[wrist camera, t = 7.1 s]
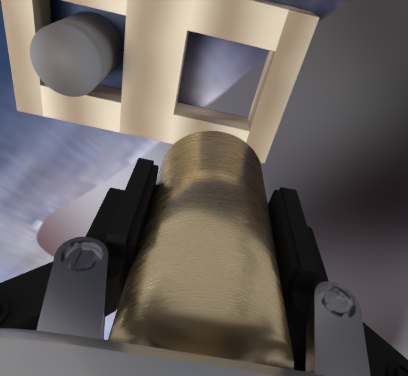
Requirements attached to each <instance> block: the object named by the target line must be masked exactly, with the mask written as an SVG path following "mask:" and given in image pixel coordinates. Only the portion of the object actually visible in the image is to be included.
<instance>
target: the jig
mask: <svg viewBox="0 0 408 376" xmlns="http://www.w3.org/2000/svg"><path fill="white" fill-rule="evenodd" d="M63 1H67V2H71V3H75V4H80V5H84V6H88V7H92V8H96V9H100V10H105V11H109V12H113V13H117V14H121V15H125V16H126V25H125V43H124V61H123V78H122V90H121V89H116V88H112V87H107V86H103V85H98V84H99V83H100V82H101V81H102V80H103V79H104V78H105V77H106V76H107V75H108V74H109V73H110V72H111V71H112V70H113V69H114V68H115V67H116V65H117V64H118V62H119V60H120V57H121V51H122V49H121V41H120V38H119V35H118V33H117V31H116V30H115V28H114V27H113V25H112V24H111V23H110V22H109V21H108V20H107V19H105V18H104V17H102V16H101V15H99V14H96V13H93V12H79V13H76V14H74V15H71V16H69V17H66V18H64V19H62V20H59V21H57V22H54V23H52V24H51V10H50V0H1V3H2V10H3V17H4V24H5V30H6V37H7V44H8V51H9V58H10V65H11V71H12V78H13V85H14V92H15V99H16V105H17V111H21V112H26V113H31V114H35V115H40V116H45V117H49V118H54V119H59V120H64V121H68V122H73V123H78V124H82V125H87V126H92V127H96V128H101V129H106V130H110V131H115V132H120V133H124V134H129V135H134V136H139V137H143V138H148V139H153V140H157V141H162V142H167V143H171V144H175V143H176V142H177V141H178V140H180V139H181V138H183V137H185V136H187V135H190V134H193V133H196V132H201V131H220V132H225V133H228V134H231V135H234V136H236V137H238V138H240V139H242V140H243V141H244V142H246V143H247V144H248V145H249V146H250V147H251V148H252V149H253V150H254V152H255V153H256V154H257V156H258V158H259V160H260V163H265V161H266V158H267V155H268V153H269V150H270V147H271V144H272V142H273V139H274V137H275V134H276V132H277V129H278V126H279V123H280V121H281V118H282V116H283V113H284V110H285V108H286V105H287V102H288V100H289V97H290V95H291V92H292V89H293V87H294V84H295V81H296V79H297V76H298V73H299V71H300V68H301V66H302V63H303V60H304V58H305V55H306V52H307V50H308V47H309V44H310V42H311V39H312V36H313V34H314V31H315V28H316V26H317V23H318V21H319V18H320V17H318V16H317V15H315V14H314V13H313V12H311V11H307V10H303V9H299V8H295V7H291V6H287V5H283V4H279V3H275V2H271V1H267V0H63ZM189 31H192V32H196V33H201V34H205V35H209V36H213V37H217V38H221V39H226V40H230V41H234V42H238V43H242V44H247V45H251V46H255V47H259V48H263V49H267V50H269V53H268V56H267V59H266V62H265V65H264V69H263V72H262V75H261V78H260V81H259V85H258V88H257V91H256V94H255V97H254V101H253V104H252V108H251V110H250V114H249V117H248V118H246V117H242V116H237V115H233V114H228V113H224V112H219V111H215V110H210V109H206V108H201V107H197V106H192V105H188V104H183V103H179V102H178V97H179V91H180V85H181V79H182V73H183V67H184V61H185V55H186V49H187V43H188V37H189Z"/></svg>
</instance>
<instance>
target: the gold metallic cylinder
mask: <svg viewBox="0 0 408 376" xmlns="http://www.w3.org/2000/svg"><path fill="white" fill-rule="evenodd" d="M108 340H109V341H116V342H122V343H129V344H135V345H142V346H148V347H155V348H161V349H167V350H174V351H180V352H186V353H193V354H199V355H205V356H212V357H218V358H224V359H230V360H236V361H243V362H249V363H255V364H261V365H267V366H274V367H280V368H286V369H292V370H293V369H294V358H293V352H292V346H291V340H290V334H289V328H288V322H287V316H286V310H285V304H284V299H283V293H282V287H281V281H280V275H279V269H278V263H277V257H276V251H275V245H274V239H273V233H272V227H271V221H270V215H269V209H268V203H267V197H266V191H265V186H264V179H263V173H262V167H261V163H260V160H259V158H258V156H257V154H256V153H255V152H254V150H253V149H252V148H251V147H250V146H249V145H248V144H247V143H246V142H244V141H243V140H242V139H240V138H238V137H236V136H234V135H231V134H228V133H225V132H220V131H201V132H196V133H193V134H190V135H187V136H185V137H183V138H181V139H180V140H178V141H177V142H176V143H175V144H174V145H172V147H171V148H170V149H169V150H168V151H167V153H166V155H165V157H164V159H163V161H162V165H161V168H160V172H159V175H158V178H157V181H156V186H155V190H154V193H153V196H152V200H151V203H150V206H149V209H148V213H147V216H146V219H145V223H144V226H143V229H142V233H141V236H140V239H139V243H138V246H137V249H136V253H135V256H134V259H133V262H132V265H131V267H130V270H129V273H128V276H127V280H126V283H125V286H124V289H123V293H122V296H121V299H120V303H119V306H118V309H117V312H116V316H115V319H114V322H113V325H112V329H111V332H110V335H109V339H108Z"/></svg>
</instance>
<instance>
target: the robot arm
mask: <svg viewBox="0 0 408 376" xmlns="http://www.w3.org/2000/svg"><path fill="white" fill-rule="evenodd" d="M153 164H154V161H152V160H147V159H142V158H139V159H138V161H137V163H136V165H135V168H134V170H133V172H132V175H131V177H130V179H129V182H128V184H127V187H126V189H125V190H120V189H115V188H110V189H109V191H108V192H107V194H106V197H105V199H104V201H103V203H102V205H101V207H100V209H99V211H98V213H97V215H96V217H95V219H94V221H93V223H92V225H91V227H90V229H89V231H88V233H87V235H86V237H77V238H74V239H70V240H69V241H67V242H65V243H63V244H62V245H61V246H60V247H59V248H58V249H57V252H56V254H55V257H54V261H53V262H51V263H48V264H46V265H43V266H41V267H38V268H36V269H34V270H31V271H29V272H26V273H24V274H21V275H19V276H16V277H14V278H11V279H9V280H7V281H4V282H2V283H0V376H408V360H407V359H406V358H405V357H404V356H402V355H401V354H400V353H399V352H398V351H396V350H395V349H394V348H393V347H392V346H391V345H390V344H388V343H387V342H386V341H385V340H384V339H382V338H381V337H380V336H379V335H378V334H376V333H375V332H374V331H373V330H372V329H371V328H369V327H368V326H367V325H366V324H365V323H363V321H362V314H361V308H360V305H359V302H358V301H357V299H356V298H355V296H354V295H353V294H352V293H351V292H350V291H349V290H348V289H346V288H345V287H343V286H342V285H339V284H337V283H334V282H330V281H328V278H327V275H326V272H325V268H324V265H323V262H322V259H321V256H320V252H319V250H318V247H317V243H316V240H315V237H314V234H313V231H312V229H311V228H310V227H308V226H307V224H306V221H305V217H304V214H303V211H302V207H301V204H300V201H299V197H298V194H297V191H296V190H293V189H289V188H284V187H281V188H280V189H279V190H274V192H273V194H272V197H271V199H270V201H269V204H268V209H269V215H270V221H271V227H272V233H273V239H274V245H275V251H276V257H277V263H278V269H279V275H280V281H281V287H282V293H283V299H284V304H285V310H286V316H287V322H288V328H289V334H290V340H291V346H292V352H293V358H294V369H293V370H292V369H286V368H280V367H274V366H267V365H261V364H255V363H249V362H243V361H236V360H230V359H224V358H218V357H212V356H205V355H199V354H193V353H186V352H180V351H174V350H167V349H161V348H155V347H148V346H142V345H135V344H129V343H122V342H116V341H109V340H104V327H105V317H106V316H107V315H109V314H111V313H113V312H114V311H116V309H118V306H119V303H120V299H121V296H122V293H123V289H124V286H125V283H126V280H127V276H128V273H129V270H130V267H131V265H132V262H133V259H134V256H135V253H136V249H137V246H138V243H139V239H140V236H141V233H142V229H143V226H144V223H145V219H146V216H147V213H148V209H149V206H150V203H151V200H152V196H153V193H154V190H155V186H156V181H157V174H158V166H157V165H153Z"/></svg>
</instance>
